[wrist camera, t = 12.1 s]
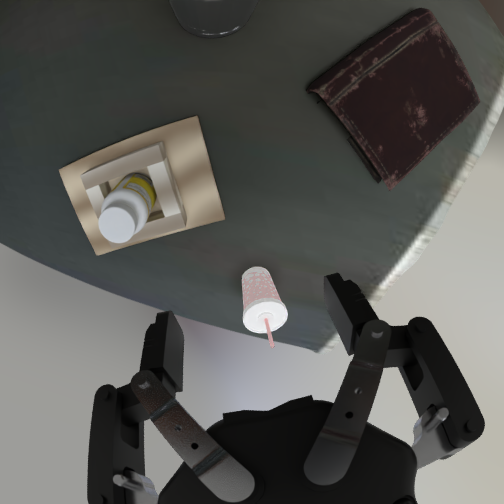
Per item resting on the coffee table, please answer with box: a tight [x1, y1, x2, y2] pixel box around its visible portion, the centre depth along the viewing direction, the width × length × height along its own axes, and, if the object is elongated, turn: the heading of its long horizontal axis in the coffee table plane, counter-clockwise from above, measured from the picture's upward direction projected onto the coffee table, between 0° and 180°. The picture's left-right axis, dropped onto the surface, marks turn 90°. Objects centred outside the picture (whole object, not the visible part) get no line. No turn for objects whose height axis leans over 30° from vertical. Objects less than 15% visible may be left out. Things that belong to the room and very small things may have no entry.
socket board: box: [59, 115, 225, 255], centre depth 32 cm, size 14×20×4 cm
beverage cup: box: [242, 267, 288, 348], centre depth 38 cm, size 6×6×14 cm
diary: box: [306, 8, 480, 191], centre depth 29 cm, size 19×25×5 cm
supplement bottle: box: [98, 172, 157, 243], centre depth 28 cm, size 5×5×10 cm
